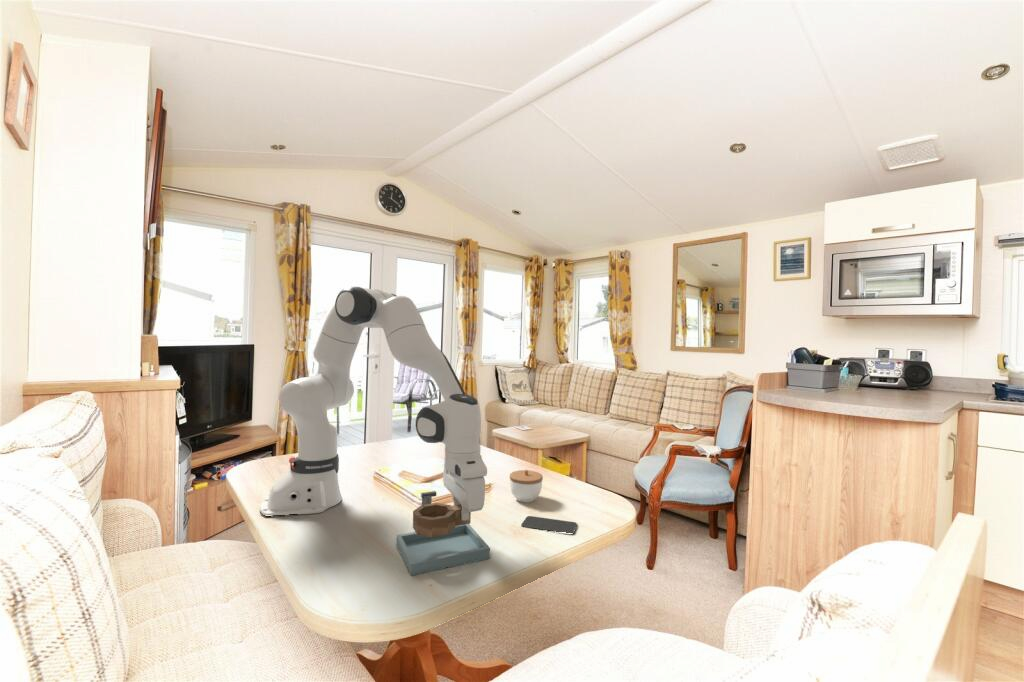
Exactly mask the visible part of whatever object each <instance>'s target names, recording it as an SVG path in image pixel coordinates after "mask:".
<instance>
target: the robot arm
mask: <svg viewBox="0 0 1024 682" xmlns="http://www.w3.org/2000/svg"><path fill="white" fill-rule="evenodd" d="M366 328H370V329H375V328H376V329H377V328H378V329H382V330H383V332H384V335H385V339H386V342H387V345H388V348H389V351H390V353H391V355H392V356H393V358H394V360H395V361H397V362H398V363H400V364H401V365H403V366H405V367H409V368H412V369H416V370H419V371H421V372H423V373H424V374H425V373H426V374H427V375H428V376H429V377H431V378H432V379H433V381H434V382H435V384H436V386H437V388H438V390H439V392H440V394H441V396H442V398H443V400H442V401H441V402H438V403H434V404H431V405H428V406H425V407H422V408H421V409H420V410H419V411H418V413H417V415H416V419H415V430H416V433H417V435H418V437H419V438H420V439H421V440H422V441H423V442H425V443H428V444H436V443H437V444H438V443H442V444H443V445H444V464H443V473H442V474H443V475H442V482H443V486H444V487H445V488H446V490H447V491H448V492H449V493H451V495H452V500H453V501H452V502H453V505H458V504H461V506H462V511H460V518H461V519H462V520H463V521H464V520H468V519H469V512H471V513H472V512H479V511H482V510H483V508H484V505H485V498H486V478H485V477H486V476H487V474H488V467H487V465H486V464H485V462H484V460H483V458H482V454H481V444H480V436H481V433H482V417H481V416H482V415H481V414H482V413H481V407H480V403H479V401H478V399H477V398H476V397H475V396H473V395H469V394H467V393H466V392H465V390H464V388H463V386H462V384H461V382H460V380H459V378H458V377H457V374H456V373H455V370H454V369H453V367H452V364H450V361H449V359H448V358H447V356H446V355H445V353H444V352H443V351H442V350H441V349H439V347H438V346H437V345H436V343H435V342H434V341H433V339H432V337H431V335H430V334H429V332H428V329H427V327H426V325H425V322H424V319H423V317H422V315H421V313H420V311H419V310H418V308H417V306H416V304H415V303H414V301H413V300H412V299H411V298H410V297H408V296H406V295H396V294H394V293H388V292H387V291H383V290H382V289H381V290H380V289H375V288H374V289H372V288H366V287H364V288H363V287H360V286H347V287H345V288H342V289H341V290H340V291H339V293H337V296H336V299H335V302H334V305H333V306H332V308H331V309H330V311H329V313H328V315H327V316H326V317H325V320H324V323H323V325H322V328H321V329H320V330H321V331H320V333H319V336H318V339H317V341H316V344H315V347H314V349H313V357H314V360H315V361H316V362H318V369H317V373H316V374H315V375H313V376H306V377H298V378H297V379H294V380H291V381H289V382H286V383H284V385H283V386H282V387H281V389H280V391H279V393H278V401H279V406H280V407H281V409H282V410H283V411H284V412H285V413H286V414H288V415H289V416H290V417H291V418H292V421H293V423H294V425H295V429H296V434H297V456H294V455H292V456H290V457H289V458H288V463H289V465H290V467H289V469H290V470H289V471H287V472H286V473H285V474H284V475H283V476H281V477H280V478H278V480H276V481H275V482H274V483H273V484H272V486H271V488H270V490H269V494H268V497H266V498H265V499H264V500H263V501H261V503H260V505H259V512H260V511H261V513H262V514H264V515H285V516H290V515H289V514H298V515H310V514H321V513H323V512H325V511H326V510H327V509H329V508H332V507H334V506H336V505H338V504H339V503H340V502H342V499H343V497H342V494H341V490H340V484H339V476H338V475H339V469H340V467H339V466H340V457H339V454H338V429H337V428H336V426H334V425H332V424H331V423H330V421H329V418H328V414H327V412H328V410H332V409H336V408H339V407H341V406H343V405H345V404H346V403H349V401H350V400H351V399H352V398H353V397H354V396H353V395H354V393H355V387H354V383H353V381H352V379H351V377H350V375H351V374H350V373H351V365H352V361H353V359H354V356H355V353H356V350H357V347H358V344H359V343H360V340H361V336H362V334H363V332H364V329H366ZM261 513H260V514H261ZM262 514H261V515H262ZM287 514H288V515H287Z"/></svg>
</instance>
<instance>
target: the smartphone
mask: <svg viewBox="0 0 1024 682" xmlns="http://www.w3.org/2000/svg"><path fill="white" fill-rule="evenodd" d="M576 526H577V527H578V523H577V522H576V521H568V520H561V519H554V518H547V517H542V516H541V517H540V516H532V515H527V516H526V517H525V519H524V520H523V521H522V523H521V526H520V527H522V528H525V529H526V528H527V529H534V530H537V529H538V531H543V530H547V531H546V532H549V531H556V532H566V533H573V532H574V530H575V528H576ZM576 529H577V528H576ZM575 531H576V530H575ZM574 533H575V532H574Z"/></svg>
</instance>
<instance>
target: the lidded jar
mask: <svg viewBox="0 0 1024 682" xmlns="http://www.w3.org/2000/svg"><path fill="white" fill-rule="evenodd" d="M543 478H544V477H543V474H542V473H541V472H537V471H535V470H528V469H519V470H515V471H512V472H511V473H509V488H510V491H511V494H512V495H513V497H514V498H515V499H516V501H518V502H521V503H533V502H534V501H535V500H536V499H537V498H538V497H539V495H540V494H541V492H542V488H543Z"/></svg>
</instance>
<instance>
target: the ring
mask: <svg viewBox="0 0 1024 682" xmlns="http://www.w3.org/2000/svg"><path fill="white" fill-rule="evenodd" d="M460 511H462V506H461V504H458V505H454V504H453V505H451V504H445V503H439V502H435V503H434V502H433V503H432V504H426V505H422V504H421V505H420V506H418V507H416V508H415V509H414V510H413V511H412V529H413V530H414V532H416V534H418V535H423V536H429V537H435V536H440V535H445V534H448V533H450V532H451V531H452V530H453V529H454V528H455V526H460V525H465V524H469V525H471V518H472V517H471V514H472V512H469V519H468V520H464V521H463V520H462V519H461V518H460Z"/></svg>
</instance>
